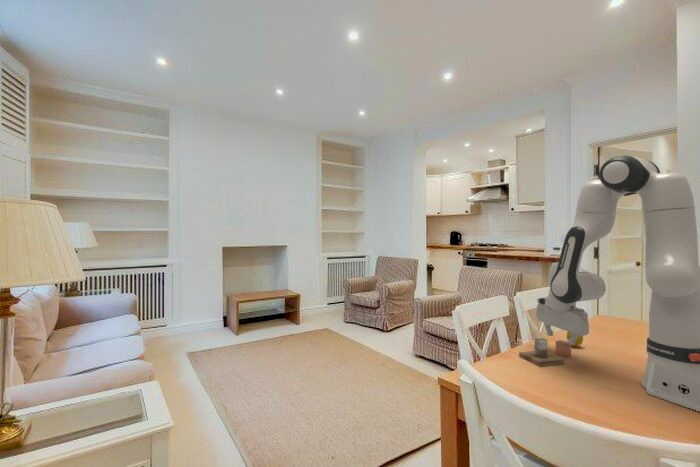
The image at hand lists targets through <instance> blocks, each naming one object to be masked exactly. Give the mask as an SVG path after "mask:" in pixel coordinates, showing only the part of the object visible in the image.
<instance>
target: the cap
mask: <svg viewBox="0 0 700 467" xmlns="http://www.w3.org/2000/svg"><path fill="white" fill-rule="evenodd" d="M555 356H557V357H559V358H571V357H572V345H571V344H568V340H560V339H559V340H557V341H555Z"/></svg>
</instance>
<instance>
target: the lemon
mask: <svg viewBox="0 0 700 467" xmlns="http://www.w3.org/2000/svg"><path fill="white" fill-rule="evenodd" d="M571 337H572V336H571V332H568V331H566V339H567V340H566V341H568V339H570V338H571ZM583 341H584V336H578V337H577V339H576V340H575V344H574V345H572V346H573V347H574V348H576V347H577V346H581V345H582V343H583Z"/></svg>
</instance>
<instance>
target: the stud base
mask: <svg viewBox="0 0 700 467" xmlns="http://www.w3.org/2000/svg"><path fill="white" fill-rule="evenodd" d="M518 354H519V355H518V356H519V357H520V358H522V359H524V360H525V361H528V362H530V363H532V364H534V365H536V366H538V367H540V368H542V367H550V366H551V367H552V366H558V365H559V366H560V365H564V364H565V359H563V358H562V357H560V356H557V355H554V354H552V353H549V352H548V339H547V338H545V337H535V338H534V350H530V351H529V350H528V351H520V352H518Z"/></svg>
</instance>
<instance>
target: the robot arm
mask: <svg viewBox="0 0 700 467" xmlns="http://www.w3.org/2000/svg"><path fill="white" fill-rule="evenodd" d="M598 178H599V179H598ZM598 178H597V179H593V180H590V181H587V182H585V183H584V184H583V185H582V187H581V190H580V193H579V197H578V200H577V204H576V210H575V217H574V220H573V223H572V225H571V227H570V229H569V230H568V231H567V233H566V235H565V237H564V241H563V244H562V248H561V252H560V256H559V258H558V259H559V260H558V261H555V262H552V264H551V266H550V269H549V276H548V285H549V291H548V296H545V297H538V298H537V299H536V302H537V303H538V304H537V305H536V308H535V310H536V311H535V318H536V320H537V321H539V322H541V323H543V326H544V327H545V330H546V335H547V336H548V337H553V336H554V331H553V330H552V327H555V328H557V329H560V330H563V331H566V332H571V336H572V337H571V338H570V339H568V340H567V342H568V344H571V346H573V345H574V344H575V340H576V339H577V337H578V336H583V337H584V336H588V335H589V334H590V323H589V315H588V313H587V312H586V310H584V309H583V308H579V307H576V305H577V303H578V302H587V301H595V300H599V299H600V298H602V297H603V296H604V295H605V292H606V288H607V287H606V283H605V281H604V279H603V278H602V277H601V276H600V275H598V274H596V273H592V272H591V271H589V270H586V269H584V268H582V267H581V262H582V258H583V255H584V252H585V251H586V249H587V248H588V247H589V246H590V245H591V244H593V243H595V242H597V241H598V240H601V239H602V238H603V239H604V238H605V237H606V236H608V235H609V234H610V233H611V232H612V230H613V227H614V225H615V222H616V213H617V205H618V202H619V200H620V198H621V197H623V196H624V197H628V196H632V195H639V197H640V199H641V202H642V213H643V214H642V215H643V223H644V232H645V250H644V251H645V253H644V254H645V279H646V280H645V281H646V283H647V285H648V288H650V289H651V293H650V294H651V296H650V297H651V298H650V305H649V311H648V337H647V338H646V352H647V360H646V361H647V362H646V366H645V367H646V368H645V371H644V374H643V377H642V380H641V385H642V387H643V388H645V391H646V393H647V394H648V395H651V396H653V397H656V398H659V399H662V400H665V401H667V402H669V403H673V404H676V405H679V406H681V407H685V408H687V409H689V408H690V409H689V410H692V409H693V410H692V411H695V410H696V412H698V411H699V412H698V413H700V264H699V262H700V261H699V248H698V247H699V244H698V243H699V242H698V241H699V240H698V238H699V237H698V236H699V235H698V230H697V229H698V228H697V227H698V226H697V218H696V210H695V209H696V208H695V201H694V196H693V192H692V189H691V186H690V183H689V180H688V179H687V177H686V176H685V175H684V174H682V173H679V172H671V171H670V172H661V170H660V169H659V167H658V165H656V163H654V162H652V161H650V160H647V159H644V158H641V157H638V156H633V155H631V156H630V155H619V156H615V157H614V156H613V157H612V158H610V159H608V160H606V161H605V162H604V163H603V164H602V166H601V167H600V170H599V172H598Z"/></svg>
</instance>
